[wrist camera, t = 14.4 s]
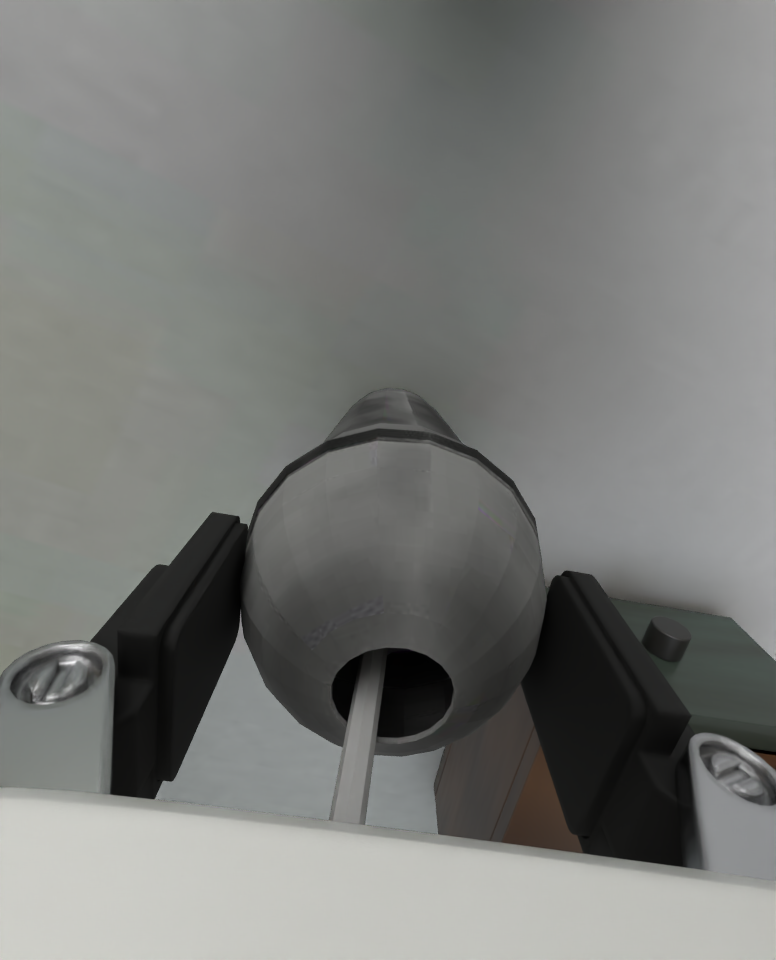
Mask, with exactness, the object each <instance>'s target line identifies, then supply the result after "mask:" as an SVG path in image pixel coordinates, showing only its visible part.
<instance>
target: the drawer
mask: <svg viewBox="0 0 776 960" xmlns="http://www.w3.org/2000/svg"><path fill="white" fill-rule="evenodd" d="M549 589H550V588H546V597H547V594H548V591H549ZM609 599H610V600H611V602H612V603H613V605H614V606H615V607H616V609H617V610H618V612H619V613H620V615H621V616H622V617H623V619H624V620H625V622H626V623H627V624H628V626H629V627H630V629H631V630H632V632H633V633H634V634H635V636H636V637H637V639H638V640H639V642H640V643H641V644H642V646H643V647H644V649H645V650H646V651H647V653H648V654H649V656H650V657H651V659H652V660H653V661H654V663H655V664H656V666H657V667H658V669H659V670H660V671H661V673H662V674H663V676H664V677H665V678H666V680H667V681H668V683H669V684H670V686H671V687H672V688H673V690H674V691H675V693H676V694H677V696H678V697H679V698H680V700H681V701H682V703H683V704H684V705H685V707H686V708H687V710H688V711H689V713H690V714H691V715H692V717H691V719H690V720H689V722H688V724H689V726H690V727H691V728H692V730H693V731H694V733H695V734H699V733H704V732H705V733H712V734H718V735H721V736H724V737H727V738H729V739H732V740H734V741H736V742H738V743H739V744H741V745H743V746H745V747H747V748H748V749H750V750H751V751H753V752H755V753H761V754H768V755H775V756H776V661H775V660H774V659H773V658H772V657H771V656H770V655H769V654H768V653H767V652H766V651H765V650H763V649H762V648H761V647H760V646H759V645H758V644H757V643H756V642H755V641H754V640H753V639H752V638H751V637H750V636H749V635H748V634H747V633H746V632H745V631H744V630H743V629H742V628H741V627H740V626H739V625H738V624H737V623H736V622H735V621H734V620H733V619H732V618H730V617H723V616H717V615H711V614H705V613H699V612H693V611H686V610H680V609H674V608H668V607H662V606H656V605H650V604H643V603H637V602H631V601H625V600H619V599H613V598H609Z"/></svg>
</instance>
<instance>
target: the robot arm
mask: <svg viewBox="0 0 776 960" xmlns="http://www.w3.org/2000/svg"><path fill="white" fill-rule="evenodd" d="M247 534H248V526H247V524H242V523H240V518H239V516H234V515H228V514H222V513H215V512H212V513H211V514H210V515H209V516H208V518H207V519H206V520H205V521H204V523H203V524H202V525H201V526H200V528H199V529H198V530H197V531H196V533H195V534H194V535H193V536H192V538H191V539H190V540H189V541H188V543H187V544H186V545H185V546H184V548H183V549H182V550H181V551H180V552H179V554H178V555H177V556H176V557H175V559H174V560H173V561H172V562H171V564H170V565H169V566H167V565H161V564H160V565H156V566H155V567H154V568H152V569H151V571H150V572H149V573H148V574H147V575H146V577H145V578H144V579H143V580H142V581H141V582H140V584H139V585H138V586H137V587H136V588H135V589H134V591H133V592H132V593H131V594H130V595H129V596H128V598H127V599H126V600H125V601H124V602H123V604H122V605H121V606H120V607H119V608H118V609H117V611H116V612H115V613H114V614H113V615H112V616H111V618H110V619H109V620H108V621H107V622H106V623H105V625H104V626H103V627H102V628H101V629H100V630H99V632H98V633H97V634H96V635H95V636H94V638H93V639H92V640H91V641H90V642H88V641H82V640H74V641H61V642H57V643H52V644H47V645H44V646H42V647H39V648H37V649H34V650H32V651H29V652H28V653H26V654H24V655H23V656H21V657H19V658H18V659H16V660H15V661H14V662H12V663H11V664H10V665H9V666H8V667H7V668H6V669H5V670H4V671H3V673H2V674H1V676H0V960H776V771H775V770H774V769H773V768H772V767H771V766H770V765H769V764H768V763H767V762H766V761H764V760H763V759H762V758H761V757H760V756H758V755H757V754H755V753H754V752H753V751H751V750H750V749H748V748H747V747H745V746H743V745H741V744H739V743H738V742H736V741H734V740H732V739H729V738H727V737H724V736H721V735H718V734H712V733H705V732H704V733H699V734H695V733H694V731H693V730H692V728H691V727H690V726H689V724H688V722H689V720H690V719H691V717H692V715H691V714H690V713H689V711H688V710H687V708H686V707H685V705H684V704H683V703H682V701H681V700H680V698H679V697H678V696H677V694H676V693H675V691H674V690H673V688H672V687H671V686H670V684H669V683H668V681H667V680H666V678H665V677H664V676H663V674H662V673H661V671H660V670H659V669H658V667H657V666H656V664H655V663H654V661H653V660H652V659H651V657H650V656H649V654H648V653H647V651H646V650H645V649H644V647H643V646H642V644H641V643H640V642H639V640H638V639H637V637H636V636H635V634H634V633H633V632H632V630H631V629H630V627H629V626H628V624H627V623H626V622H625V620H624V619H623V617H622V616H621V615H620V613H619V612H618V610H617V609H616V607H615V606H614V605H613V603H612V602H611V600H610V599H609V597H608V596H607V595H606V593H605V592H604V590H603V589H602V588H601V586H600V585H599V583H598V582H597V580H596V579H595V578H594V576H592V575H590V574H585V573H578V572H572V571H564V572H563V573H562V575H561V576H558V575H557V576H555V577H554V578H553V580H552V583H551V586H550V589H549V591H548V594H547V601H546V607H545V614H544V619H543V624H542V628H541V633H540V637H539V642H538V647H537V651H536V655H535V657H534V659H533V662H532V664H531V666H530V668H529V670H528V672H527V673H526V675H525V676H524V678H523V679H522V681H521V686H522V689H523V692H524V696H525V699H526V702H527V705H528V708H529V711H530V714H531V717H532V720H533V723H534V726H535V729H536V732H537V735H538V738H539V741H540V744H541V747H542V751H543V754H544V757H545V760H546V763H547V766H548V769H549V772H550V775H551V778H552V781H553V784H554V787H555V790H556V793H557V796H558V799H559V802H560V806H561V809H562V812H563V815H564V818H565V821H566V824H567V826H568V829H569V831H570V832H571V833H572V834H574V835H577V836H578V839H579V842H580V845H581V848H582V851H583V853H575V852H568V851H561V850H553V849H546V848H538V847H531V846H523V845H515V844H508V843H500V842H492V841H485V840H477V839H470V838H462V837H454V836H447V835H439V834H431V833H423V832H416V831H408V830H400V829H392V828H385V827H377V826H369V825H361V824H354V823H346V822H337V821H329V820H321V819H313V818H305V817H297V816H289V815H281V814H273V813H265V812H257V811H249V810H240V809H232V808H224V807H216V806H208V805H200V804H192V803H184V802H174V801H165V800H155V797H156V795H157V793H158V790H159V788H160V786H161V784H162V782H163V781H171V782H172V781H173V780H174V778H175V777H176V775H177V773H178V770H179V768H180V766H181V764H182V761H183V759H184V757H185V755H186V752H187V750H188V748H189V746H190V743H191V741H192V739H193V736H194V734H195V732H196V730H197V727H198V725H199V723H200V721H201V718H202V716H203V714H204V711H205V709H206V707H207V705H208V702H209V700H210V698H211V696H212V693H213V691H214V689H215V687H216V684H217V682H218V680H219V677H220V675H221V673H222V671H223V668H224V666H225V664H226V662H227V659H228V657H229V655H230V652H231V650H232V648H233V646H234V643H235V641H236V638H237V634H238V630H239V623H240V612H241V600H240V579H241V574H242V570H243V566H244V562H245V556H246V545H247Z"/></svg>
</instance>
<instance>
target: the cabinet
mask: <svg viewBox="0 0 776 960" xmlns="http://www.w3.org/2000/svg"><path fill="white" fill-rule="evenodd" d="M754 753H755V752H754ZM755 754H757V755H758V756H760V757H761V758H762V759H763V760H764V761H766V762H767V763H768V764H769V765H770V766H771V767H772V768H773V769H774V770H775V771H776V756H775V755H768V754H761V753H755ZM434 793H435V802H436V814H437V826H438V834H439V835H447V836H454V837H462V838H470V839H477V840H485V841H492V842H500V843H508V844H515V845H523V846H531V847H538V848H546V849H553V850H561V851H568V852H575V853H583V851H582V848H581V845H580V842H579V839H578V836H577V835H574V834H572V833H571V832H570V831H569V829H568V826H567V824H566V821H565V818H564V815H563V812H562V809H561V806H560V802H559V799H558V796H557V793H556V790H555V787H554V784H553V781H552V778H551V775H550V772H549V769H548V766H547V763H546V760H545V757H544V754H543V751H542V747H541V744H540V741H539V738H538V735H537V732H536V729H535V726H534V723H533V720H532V717H531V714H530V711H529V708H528V705H527V702H526V699H525V696H524V692H523V689H522V686H521V683H520V684H519V686H518V687H517V689H516V690H515V692H514V693H513V695H512V697H511V698H510V700H509V701H508V702H507V703H506V704H505V705H504V707H503V708H502V709H501V710H500V711H499V712H498V713H497V714H495V715H494V716H493V717H492V718H490V719H489V720H488V721H487V722H486V723H484V724H483V725H482V726H481V727H479V728H478V729H477V730H476V731H475V732H473V733H472V734H470V735H468V736H466V737H464V738H461V739H459V740H457V741H455V742H452V743H450V744H448V745H446V747H445V750H444V754H443V757H442V760H441V763H440V767H439V770H438V773H437V776H436V780H435V783H434Z"/></svg>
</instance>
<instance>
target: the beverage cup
mask: <svg viewBox="0 0 776 960" xmlns="http://www.w3.org/2000/svg"><path fill="white" fill-rule="evenodd" d="M240 600H241V619H242V627H243V634H244V638H245V640H246V643H247V645H248V647H249V650H250V652H251V654H252V656H253V659H254V661H255V663H256V665H257V668H258V670H259V672H260V674H261V677H262V679H263V681H264V683H265V686H266V687H267V688H268V689H269V691H270V692H271V693H272V694H273V695H274V696H275V698H276V699H277V700H278V701H279V702H280V703H281V704H282V705H283V706H284V707H285V708H286V709H287V711H288V712H289V713H290V714H291V715H292V716H293V717H294V718H295V719H296V720H297V721H298V722H299V724H301V725H303V726H304V727H306V728H308V729H309V730H311V731H313V732H314V733H316V734H318V735H319V736H321V737H323V738H325V739H326V740H328V741H330V742H331V743H334V744H336V745H338V746H341V747H343V749H342V754H341V760H340V765H339V770H338V775H337V781H336V786H335V791H334V796H333V801H332V807H331V812H330V817H329V821H337V822H346V823H354V824H361V825H365V820H366V812H367V805H368V797H369V789H370V782H371V774H372V767H373V759H374V755H384V756H407V755H413V754H418V753H424V752H430V751H434V750H437V749H439V748H441V747H443V746H446V745H448V744H450V743H452V742H455V741H457V740H459V739H461V738H464V737H466V736H468V735H470V734H472V733H473V732H475V731H476V730H477V729H478V728H479V727H481V726H482V725H483V724H484V723H486V722H487V721H488V720H489V719H490V718H492V717H493V716H494V715H495V714H497V713H498V712H499V711H500V710H501V709H502V708H503V707H504V705H505V704H506V703H507V702H508V701H509V700H510V698H511V697H512V695H513V693H514V692H515V690H516V689H517V687H518V686H519V684H520V683H521V681H522V679H523V678H524V676H525V675H526V673H527V672H528V670H529V668H530V666H531V664H532V662H533V659H534V657H535V655H536V651H537V647H538V642H539V637H540V633H541V628H542V624H543V619H544V614H545V607H546V601H547V597H546V588H545V581H544V574H543V568H542V558H541V552H540V546H539V540H538V533H537V527H536V521H535V518H534V516H533V514H532V513H531V511H530V509H529V507H528V506H527V504H526V502H525V500H524V499H523V497H522V495H521V494H520V492H519V490H518V488H517V487H516V485H515V483H514V481H513V480H512V479H510V478H509V477H508V476H507V475H506V474H504V473H503V472H502V471H501V470H500V469H499V468H497V467H496V466H495V465H494V464H493V463H491V462H490V461H489V460H488V459H487V458H485V457H484V456H483V455H482V454H481V453H479V452H478V451H477V450H475V449H473V448H470V447H467V446H465V445H463V444H462V442H461V441H460V440H459V439H458V437H457V436H456V435H455V434H454V432H453V431H452V430H451V429H450V427H449V426H448V425H447V424H446V422H445V421H444V420H443V419H442V417H441V416H440V415H439V414H438V412H437V411H436V410H435V409H434V408H432V407H431V406H430V405H429V404H428V403H427V402H425V401H424V400H423V399H422V398H421V397H419V396H418V395H416V394H414V393H411V392H409V391H406V390H404V389H391V388H387V389H383V390H379V391H375V392H372V393H370V394H368V395H367V396H365V397H364V398H362V399H360V400H359V401H358V402H357V403H356V404H354V405H353V406H352V407H351V409H350V410H349V411H348V412H347V413H346V415H345V416H344V417H343V418H342V420H341V421H340V422H339V423H338V425H337V426H336V427H335V429H334V430H333V431H332V432H331V434H330V435H329V436H328V437H327V439H326V440H325V441H324V443H323V444H321V445H319V446H318V447H316V448H315V449H313V450H311V451H310V452H308V453H307V454H305V455H303V456H302V457H300V458H298V459H297V460H295V461H294V462H292V463H290V464H289V465H287V466H286V467H285V468H284V469H283V471H282V472H281V473H280V474H279V476H278V477H277V478H276V479H275V481H274V482H273V483H272V484H271V486H270V487H269V488H268V489H267V491H266V492H265V493H264V494H263V496H262V497H261V498H260V499H259V500H258V502H257V505H256V508H255V511H254V514H253V517H252V520H251V523H250V526H249V529H248V534H247V545H246V556H245V562H244V566H243V570H242V574H241V579H240Z"/></svg>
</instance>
